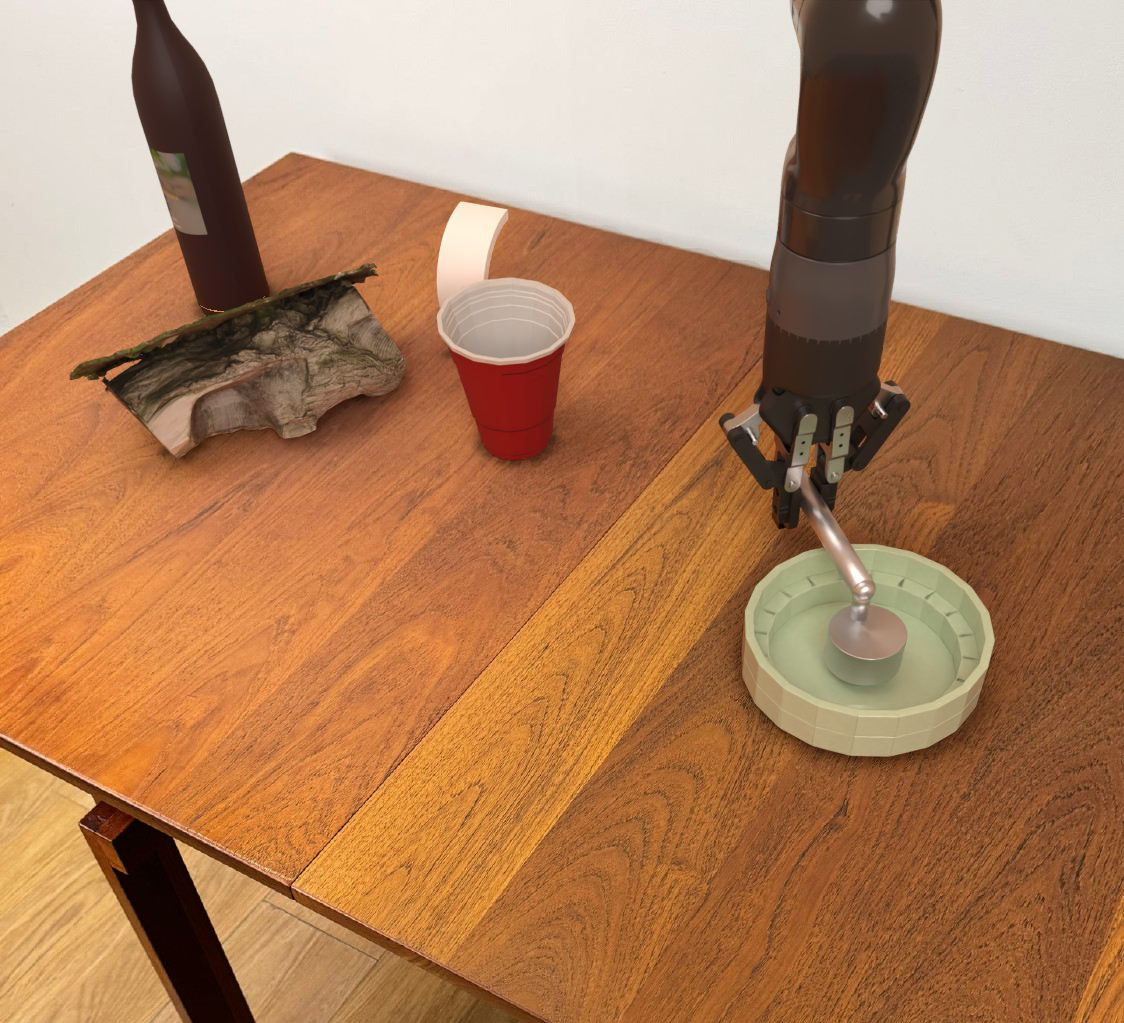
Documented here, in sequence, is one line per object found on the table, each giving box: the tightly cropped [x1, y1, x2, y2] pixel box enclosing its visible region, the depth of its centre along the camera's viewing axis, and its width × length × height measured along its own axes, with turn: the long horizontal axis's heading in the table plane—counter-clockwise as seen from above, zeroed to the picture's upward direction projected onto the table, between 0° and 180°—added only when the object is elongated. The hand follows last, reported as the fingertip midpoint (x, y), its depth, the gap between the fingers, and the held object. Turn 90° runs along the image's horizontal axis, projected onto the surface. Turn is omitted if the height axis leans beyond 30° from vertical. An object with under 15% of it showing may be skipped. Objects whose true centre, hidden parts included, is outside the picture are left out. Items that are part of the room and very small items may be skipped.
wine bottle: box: [130, 0, 270, 316], centre depth 108 cm, size 7×7×30 cm
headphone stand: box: [436, 201, 509, 310], centre depth 108 cm, size 5×6×12 cm
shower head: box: [771, 468, 908, 686], centre depth 85 cm, size 19×5×6 cm, turn 14°
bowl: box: [741, 543, 996, 758], centre depth 82 cm, size 16×16×4 cm
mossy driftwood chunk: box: [69, 262, 407, 460], centre depth 102 cm, size 28×13×15 cm
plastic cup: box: [436, 277, 577, 461], centre depth 98 cm, size 11×11×12 cm
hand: (802, 518), depth 89 cm, fingers closed on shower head
